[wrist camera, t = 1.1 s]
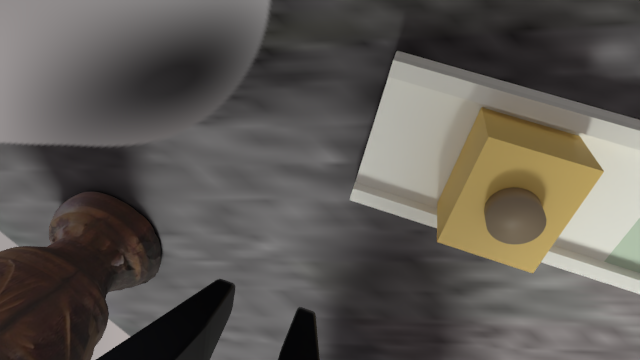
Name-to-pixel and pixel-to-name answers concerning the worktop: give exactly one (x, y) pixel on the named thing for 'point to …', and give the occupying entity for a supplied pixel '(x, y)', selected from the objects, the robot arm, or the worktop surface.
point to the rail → (450, 136)
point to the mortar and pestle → (73, 278)
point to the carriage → (514, 189)
